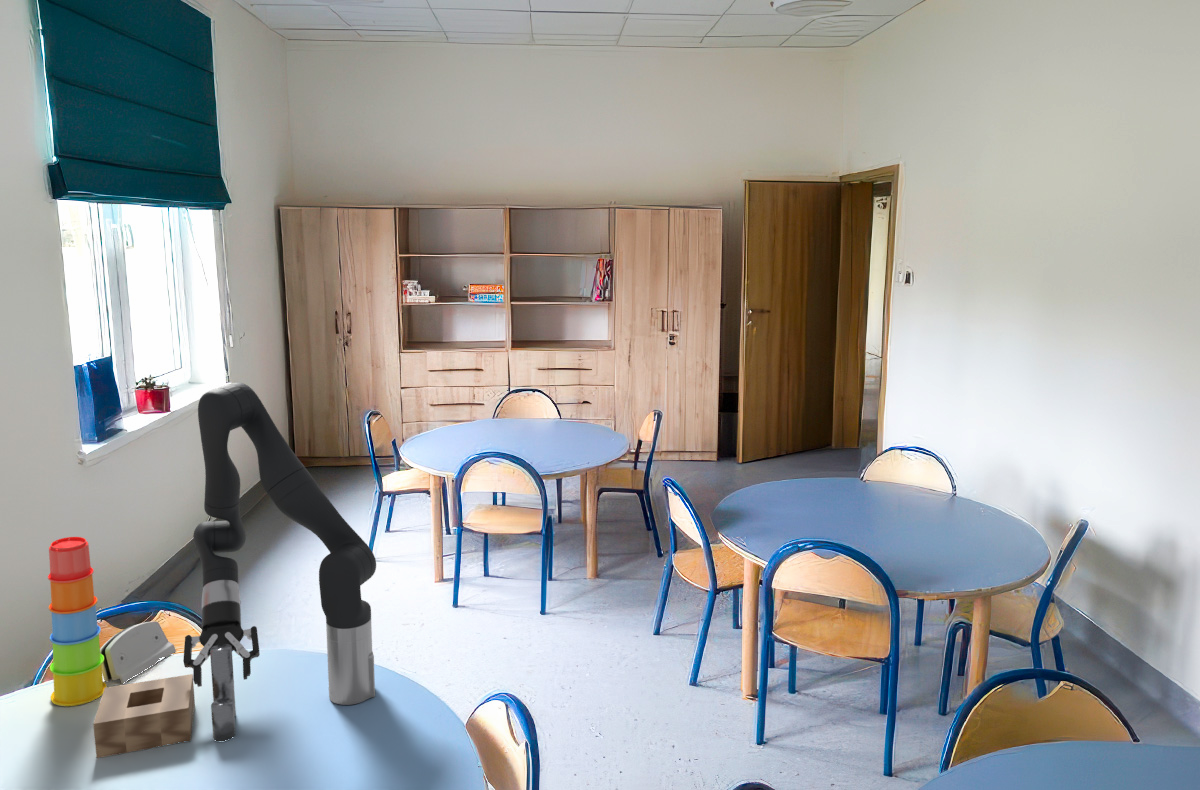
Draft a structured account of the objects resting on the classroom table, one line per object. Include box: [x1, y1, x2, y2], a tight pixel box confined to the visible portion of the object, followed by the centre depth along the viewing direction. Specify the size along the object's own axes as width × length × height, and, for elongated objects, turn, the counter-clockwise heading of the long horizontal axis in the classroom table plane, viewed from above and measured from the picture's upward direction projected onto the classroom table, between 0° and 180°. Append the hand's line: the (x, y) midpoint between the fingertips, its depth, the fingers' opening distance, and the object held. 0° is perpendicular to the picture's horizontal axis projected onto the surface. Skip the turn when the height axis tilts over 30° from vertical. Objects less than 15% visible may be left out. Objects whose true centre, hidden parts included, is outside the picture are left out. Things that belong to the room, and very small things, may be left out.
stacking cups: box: [47, 536, 108, 707], centre depth 178 cm, size 10×10×35 cm
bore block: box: [92, 673, 196, 759], centre depth 168 cm, size 16×14×7 cm
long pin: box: [209, 644, 237, 718], centre depth 173 cm, size 4×4×15 cm
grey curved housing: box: [100, 621, 177, 684], centre depth 194 cm, size 17×5×10 cm, turn 166°
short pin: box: [210, 698, 236, 742], centre depth 167 cm, size 4×4×7 cm
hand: (222, 681), depth 172 cm, fingers open, 8 cm apart
